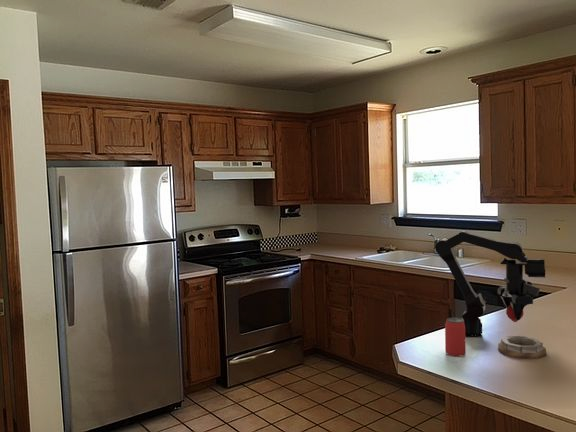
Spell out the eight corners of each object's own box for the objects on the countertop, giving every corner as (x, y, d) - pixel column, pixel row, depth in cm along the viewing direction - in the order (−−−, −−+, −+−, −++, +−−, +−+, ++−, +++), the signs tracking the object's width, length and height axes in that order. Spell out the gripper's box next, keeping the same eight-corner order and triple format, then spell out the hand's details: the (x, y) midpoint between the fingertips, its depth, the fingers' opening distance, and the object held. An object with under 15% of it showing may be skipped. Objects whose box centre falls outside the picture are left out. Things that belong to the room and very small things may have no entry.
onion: (513, 324, 179) (513, 303, 178) (502, 320, 184) (502, 300, 184) (527, 323, 180) (526, 301, 180) (515, 319, 186) (515, 298, 185)
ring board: (507, 358, 162) (507, 348, 162) (491, 344, 177) (491, 335, 177) (554, 358, 161) (554, 348, 161) (534, 344, 176) (534, 334, 176)
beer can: (461, 350, 172) (460, 316, 171) (468, 356, 165) (468, 321, 165) (442, 351, 172) (442, 317, 171) (449, 357, 165) (449, 322, 165)
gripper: (548, 280, 172) (548, 324, 172) (526, 271, 190) (526, 311, 191) (515, 281, 172) (516, 324, 173) (496, 272, 191) (497, 311, 192)
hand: (514, 317), depth 182 cm, fingers closed on onion, 6 cm apart
